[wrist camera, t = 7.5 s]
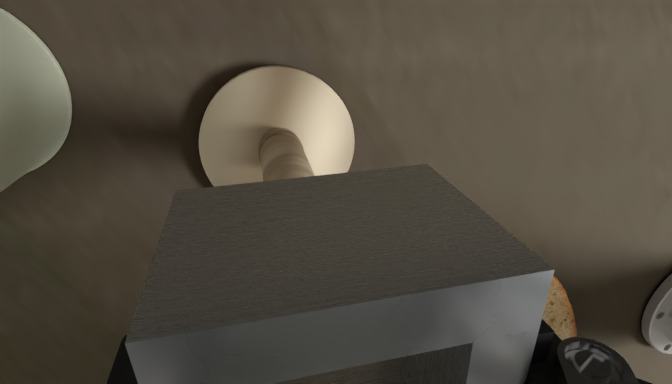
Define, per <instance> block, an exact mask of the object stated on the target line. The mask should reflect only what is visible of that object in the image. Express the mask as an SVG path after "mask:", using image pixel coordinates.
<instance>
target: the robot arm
mask: <svg viewBox="0 0 672 384" xmlns="http://www.w3.org/2000/svg"><path fill="white" fill-rule="evenodd" d="M641 330H642V334H643V337H644V339H645V340H646V341H647V343H649V344H650V345H651V346H652V347H654V348H655V349H656V350H657V351H659V352H661V353H666V354H672V273H671V274H670V275H669V276H668V277H667V278H666V279H665V280H664V281H663V282H662V284H661V285H660V286H659V287H658V289H657V290H656V291H655V292H654V294H653V295H652V297H651V299H650V300H649V302H648V304H647V306H646V308H645V311H644V314H643V318H642V329H641ZM554 332H555V331H554V330H553V329H552V328H551V327H550V326H549V325H548V324H547V323H546V322H545V321H544V320H543V319H542V320H541V324H540V328H539V332H538V336H537V340H536V343H535V347H534V351H533V355H532V359H531V363H530V367H529V371H528V374H527V378H526V382H525V384H652V383H649V382H646V381H643V380H641V379H638V378H636V376H635V374H634V372H633V371H632V369H631V367H630V366H629V364H628V363H627V361H626V360H625V359H624V358H623V357H622V356H621V355H620V354H619V353H618V352H616V351H615V350H614V349H612V348H610V347H609V346H607V345H605V344H603V343H601V342H598V341H596V340H593V339H589V338H584V337H570V338H566V339H564V340H563V341H562V340H561V339H560V338H559V337H558V336H557V335H556V334H555V333H554ZM126 338H127V335H126V336H125V337H124V338H123V340H122V342H121V344H120V347H119V350H118V353H117V356H116V358H115V361H114V364H113V367H112V370H111V373H110V376H109V379H108V382H107V384H138V382H137V379H136V376H135V373H134V370H133V367H132V364H131V361H130V358H129V355H128V352H127V349H126V346H125V341H126Z"/></svg>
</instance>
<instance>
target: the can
mask: <svg viewBox="0 0 672 384" xmlns="http://www.w3.org/2000/svg"><path fill="white" fill-rule="evenodd" d="M71 119H72V101H71V94H70V90H69V86H68V83H67V80H66V78H65V75H64V73H63V71H62V69H61V67H60V65H59V63H58V62H57V60H56V59H55V57H54V56H53V54H52V53H51V51H50V50H49V49H48V47H47V46H46V45H45V44H44V43H43V42H42V40H41V39H40V38H39V37H38V36H37V35H36V34H35V33H34V32H33V31H32V30H31V29H29V28H28V27H27V26H26V25H25V24H23V23H22V22H21V21H20V20H18V19H17V18H16V17H14V16H13V15H11V14H10V13H8V12H6V11H5V10H3V9H1V8H0V192H2V191H3V190H4V189H6V188H7V187H8V186H10V185H11V184H12V183H14V182H15V181H16V180H18V179H19V178H20V177H22V176H23V175H24V174H26V173H28V172H30V171H32V170H35V169H36V168H38V167H40V166H41V165H43V164H44V163H46V162H47V161H48V160H50V159H51V158H52V157H53V156H54V155H55V154H56V153H57V152H58V150H59V149H60V148H61V146H62V145H63V143H64V141H65V139H66V137H67V135H68V132H69V129H70V125H71Z"/></svg>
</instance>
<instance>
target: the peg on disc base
mask: <svg viewBox="0 0 672 384" xmlns="http://www.w3.org/2000/svg"><path fill="white" fill-rule="evenodd" d="M354 142H355V140H354V130H353V125H352V121H351V118H350V115H349V113H348V111H347V109H346V107H345V105H344V103H343V102H342V100H341V99H340V98H339V96H338V95H337V94H336V93H335V92H334V91H333V90H332V89H331V88H330V87H329V86H328V85H327V84H326V83H324V82H323V81H322V80H321V79H319V78H317V77H316V76H314V75H313V74H311V73H308V72H306V71H304V70H301V69H298V68H294V67H289V66H283V65H269V66H261V67H257V68H253V69H250V70H248V71H245V72H243V73H241V74H239V75H237V76H235V77H234V78H232V79H231V80H229V81H228V82H227V83H226V84H224V85H223V86H222V87H221V88H220V89H219V90H218V92H217V93H216V94H215V95H214V97H213V98H212V100H211V101H210V103H209V105H208V107H207V109H206V111H205V114H204V117H203V120H202V123H201V127H200V132H199V153H200V158H201V162H202V166H203V168H204V170H205V173H206V175H207V177H208V178H209V180H210V182H211V183H212V185H213V186H214V187H216V186H225V185H234V184H244V183H253V182H263V181H272V180H281V179H291V178H300V177H309V176H319V175H328V174H338V173H347V172H348V170H349V167H350V164H351V161H352V158H353V153H354Z"/></svg>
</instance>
